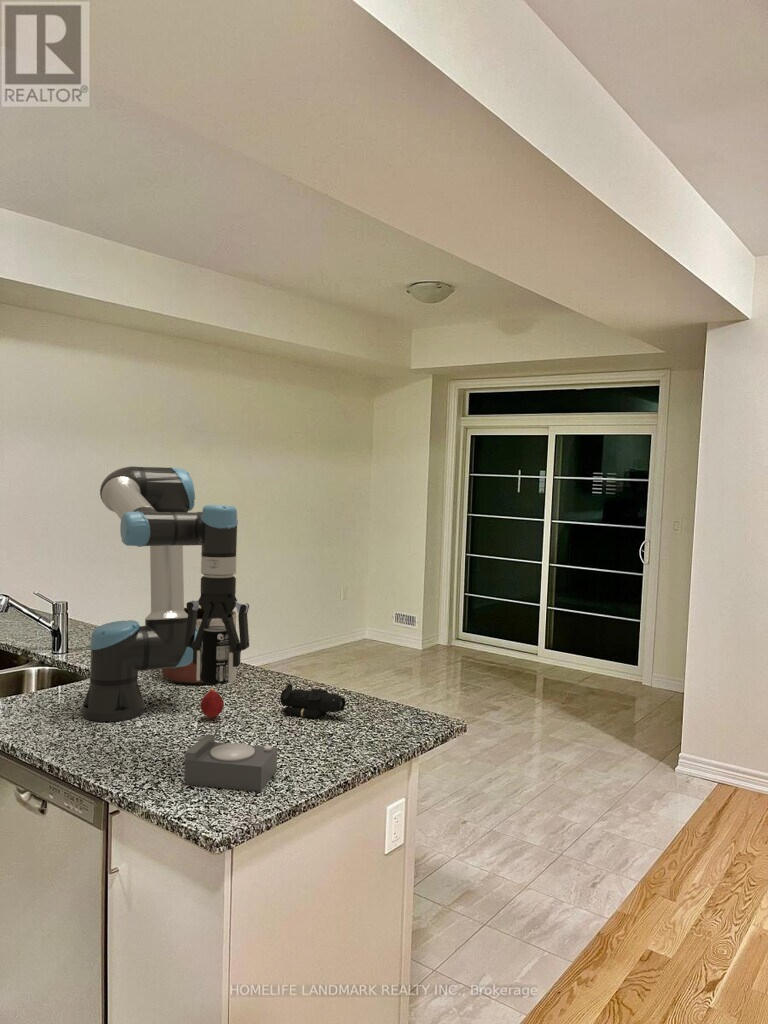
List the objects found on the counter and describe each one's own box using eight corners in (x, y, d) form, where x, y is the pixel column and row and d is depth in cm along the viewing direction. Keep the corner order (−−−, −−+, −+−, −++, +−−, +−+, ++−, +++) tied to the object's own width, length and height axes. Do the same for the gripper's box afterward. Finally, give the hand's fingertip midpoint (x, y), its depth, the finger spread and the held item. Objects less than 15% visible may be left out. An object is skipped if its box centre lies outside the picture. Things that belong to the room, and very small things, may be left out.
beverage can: (203, 678, 168) (204, 625, 168) (232, 678, 169) (234, 625, 169) (198, 686, 162) (199, 630, 161) (229, 686, 162) (230, 630, 162)
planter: (249, 675, 237) (251, 612, 237) (197, 690, 219) (199, 622, 218) (199, 664, 249) (201, 604, 248) (146, 677, 231) (148, 612, 230)
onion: (227, 717, 195) (228, 686, 195) (215, 723, 190) (216, 692, 190) (208, 714, 197) (208, 684, 197) (195, 720, 192) (196, 689, 192)
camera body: (184, 784, 152) (185, 752, 152) (205, 764, 163) (206, 734, 163) (260, 791, 150) (261, 759, 150) (276, 770, 161) (277, 740, 160)
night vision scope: (343, 728, 198) (332, 712, 190) (282, 720, 203) (269, 704, 196) (350, 700, 202) (340, 683, 195) (290, 693, 208) (278, 676, 200)
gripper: (168, 575, 162) (166, 681, 163) (256, 579, 160) (253, 687, 160) (183, 571, 170) (181, 673, 170) (266, 575, 167) (264, 678, 168)
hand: (216, 679), depth 165 cm, fingers closed on beverage can, 7 cm apart
